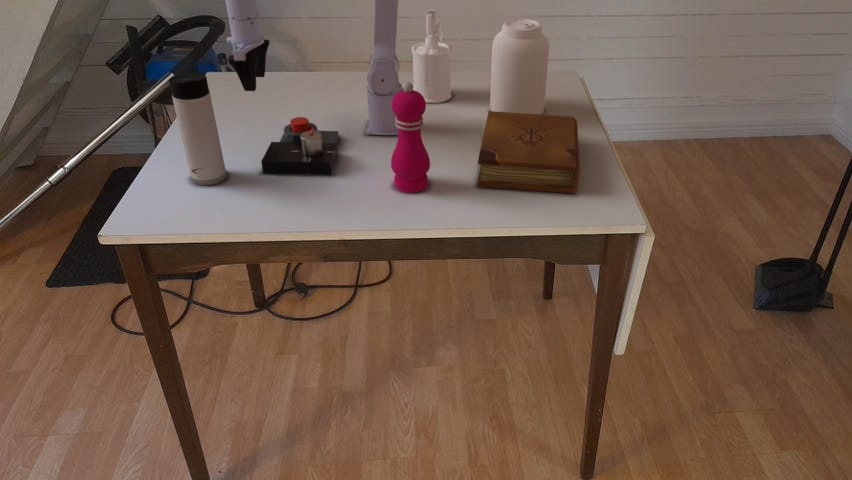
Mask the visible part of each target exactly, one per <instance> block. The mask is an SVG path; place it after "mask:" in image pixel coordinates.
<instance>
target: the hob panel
mask: <svg viewBox="0 0 852 480" xmlns="http://www.w3.org/2000/svg"><path fill="white" fill-rule="evenodd" d="M338 156H339V151H338V142H337V143H323V153H322V154H321V155H318V156H313V157H311V156H305V155H304V154H303V153H302V146H301V142H280V141H271V142H270V144H269V145H268V147H267V149H266V151H265V153H264V155H263V157H262V159H261V161H260V163H261V168H262V169H261V170H262V173H263V174H267V175H271V174H273V175H275V174H276V175H318V176H319V175H320V176H321V175H323V176H326V175H327V176H331V175H333V171H334V168H335V165H336V162H337V159H338Z"/></svg>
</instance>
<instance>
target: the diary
mask: <svg viewBox="0 0 852 480" xmlns="http://www.w3.org/2000/svg"><path fill="white" fill-rule="evenodd" d="M578 133H579V132H578V120H577V119H576V118H575V116H571V115H570V116H569V115H555V114H541V115H540V114H525V113H510V112H495V111H492V110H488V111H487V117H486V121H485V125H484V131H483V135H482V140H481V145H480V150H479V153H478V159H477V164H478V165H480V168H479V173H478V177H477V181H476V183H477V184H476V186H477V187H481V188H494V189H495V188H496V189H506V190H507V189H508V190H521V191H523V190H524V191H535V192H548V193H549V192H550V193H564V194H574V193H575V192H576V191H577V190H578V186H579V180H580V179H579V178H580V154H579V153H580V152H579V136H578V135H579V134H578Z"/></svg>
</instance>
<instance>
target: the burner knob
mask: <svg viewBox="0 0 852 480" xmlns="http://www.w3.org/2000/svg"><path fill="white" fill-rule="evenodd" d="M318 131H319V130H318ZM318 131H314V129H311V131H306V132H303V133H302V134H301V135H300V138H301V146H302V153H303V154H304V155H305V156H311V157H313V156H318V155H321V154H322V153H323V143H322V134H321V133H320V132H318Z"/></svg>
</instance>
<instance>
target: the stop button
mask: <svg viewBox="0 0 852 480" xmlns="http://www.w3.org/2000/svg"><path fill="white" fill-rule="evenodd" d="M309 123H310V121H309V118H307V117H304V116H298V117H293V118H291V119H290V124H291V130H292V132H295V133H303V132H306V131H309V130H310V128H309Z"/></svg>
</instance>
